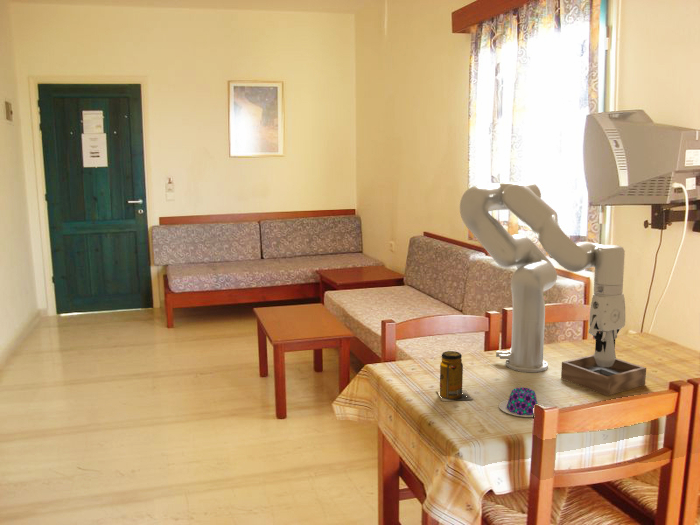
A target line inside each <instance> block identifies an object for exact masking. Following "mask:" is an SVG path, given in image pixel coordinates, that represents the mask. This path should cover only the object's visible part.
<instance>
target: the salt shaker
mask: <svg viewBox="0 0 700 525" xmlns="http://www.w3.org/2000/svg"><path fill="white" fill-rule="evenodd" d="M599 333H600V334H601V332H599ZM605 341H606V349H605V353H604V347H603V345H602V351H601V352H597V351H596V352H595V351H594V352H593V353H594V358H595V361H596V364H597V365H598V366H601V367H611V366H612V365H613V364H614V362H615V360H616V359H617V354H616V346H615V347H614V340H613V333H612V331H608V332H606V336H605Z"/></svg>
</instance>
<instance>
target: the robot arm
mask: <svg viewBox="0 0 700 525" xmlns="http://www.w3.org/2000/svg"><path fill="white" fill-rule="evenodd" d="M541 194H542V192H541V190H540V188H539V187H538V186H537V185H536V184H535V183H533V182H532V181H528V180H527V181H526V180H525V181H517V182H504V183H503V182H502V183H488V184H478V185H473V186H472V187H469V188H467V190H466V191H464V193H463V194H462V196H461V199H460V202H459V214H460V218H461V219H462V221H463V222H462V223H463V224H464V225H465V227H466V228H467V230H468V231H470V233H471V234H472V235H473V236H474V237H475V238H476V239H477V240H478V242H479V243H480V245H481V246H482V247H483V249H485V251H486V252H487V253H488V254H489V256H490V257H491V258H492V259H493V261H494V262H495V263H496V264H497V265H498V266H499V267H501V268H504V269H511V268H514V267H516V268H517V269H516V270H515V271H514V272H513V274H512V276H511V281H510V289H511V295H512V298H511V299H512V311H511V312H512V317H511V318H512V319H511V320H512V321H511V322H512V323H511V346H510V349H509V350H506V351H503V350H495V351H496V352H495V357H496V358H499V359H501V360H504V359H505V366H506V367H507V368H509V369H511V370H514V371H518V372H523V373H540V372H541V373H542V372H544V371H546V370H548V368H549V363H548V361H546V360H545V359H544V345H545V343H544V342H545V326H546V325H545V324H546V304H545V298H544V297H545V296H544V292H547V291H548V290H550V289H551V288H553V287H554V285H555V284H556V283H557V281H558V280H557V279H558V274H557V273H558V272H557V270H556V267H555V266H554V265H553V263H552V262H551V261H550V260H549V259H548V257H547V256H546V255H545V253H544V252H542V250H541V249H540V248H539V247H538V246H537V245H536V244H535V242H534V241H532V239H531V238H529V237H528V236H525V235H522V234H510V232H508V231H507V229H506V228H505V227H504V226H503V224H501V222H500V221H499V220H498V219H496V218H495V217H494V216H493V215H491V214H490V212H492V211H502V210H503V211H505V210H508V211H510V212H511V213H512V214H513V215H515V216H516V217H517V219H519V220H520V221H521V222H522V223H523V224H524V225H525V226H527V228H528V229H530V230H531V231H532V232H533V233H534V234H535V236H536V238H537V240H538V241H539V243H540V245H541V247H542V248H543V250H544V251H545V252H546V253H547V254H548V255H549V256H550V257H551V258H552V259H553V260H554V261H555V262H556V263H557V264H558V265H560V266H561V267H562V268H563V269H565V270H567V271H569V272H572V273H578V272H579V273H580V272H581V271H585V270H586V269H591V268H594V280H593V285H594V286H593V294H592V298H591V303H590V311H589V328H588V334H590V335H592V336H593V337H594V338H593V339H594V340H595V344H594V346H595V348H594V349H595V350H594V353H595V352H596V351H597V352H601V351H602V345H603V347H604V353H605V349H606V341H605V336H606V332H608V331H612V333H613V340H614V347H615V348H616V339H617V338H618V334H619V332H620V331H621V330H622V328H624V327H625V326H626V300H625V295H624V293H623V290H624V272H625V256H626V254H625V252H626V250H625V248H624V247H623V246H621V245H617V244H599V243H595V242H591V241H582V242H577V243H576V242H574V241H573V240H572V239H571V238H570V237H568V235H567V234H566V233H565V232H564V231H563V230H562V228H561V227H560V225H559V223H558V222H559V221H558V214H557V213H558V212H556V211H555V210H554V209H553V208H552V207H551V206H550V205H548V203H546V202H545V201H544V200H543V199H542V198H541V197H542V195H541ZM600 332H601V334H600Z"/></svg>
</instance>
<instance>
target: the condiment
mask: <svg viewBox="0 0 700 525" xmlns="http://www.w3.org/2000/svg"><path fill="white" fill-rule="evenodd" d="M462 357H463V356H462V354H461V352H459V351H453V350H448V351H444V352H442V353H441V362H440V364H439V365H440V366H439V368H440V369H439V370H440V372H439V374H440V375H439V391H440V396H441V397H442V398H441V397H439V399H440V400H441V401H442V402H456V401H460V400H461V401H467V400H474V398H472V396H471V394H469V392H468V390H466V389H463V382H464V381H463V376H464V372H463V371H464V368H463V367H464V365H463V362H462V360H463V359H462ZM462 393H463V394H462ZM466 396H467V397H466Z"/></svg>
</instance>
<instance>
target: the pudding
mask: <svg viewBox="0 0 700 525" xmlns="http://www.w3.org/2000/svg"><path fill="white" fill-rule="evenodd" d="M535 404H538V405H541V406H544V407H546V405H544V404H542V403H540V402H538V400H537V395H536V392H535V391H534V390H533V389H531V388H529V387H515V388H513V389H512V390H511V391H510V394H509V397H508V399H505V400H503V401H500V403H499V404H498V408H499V409H500V410H501V411H503V413H507V414H509V415H513V416H515V417H516V416H517V417H525V418H531V417H532V418H533V415H534V414H533V408H534V405H535Z"/></svg>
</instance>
